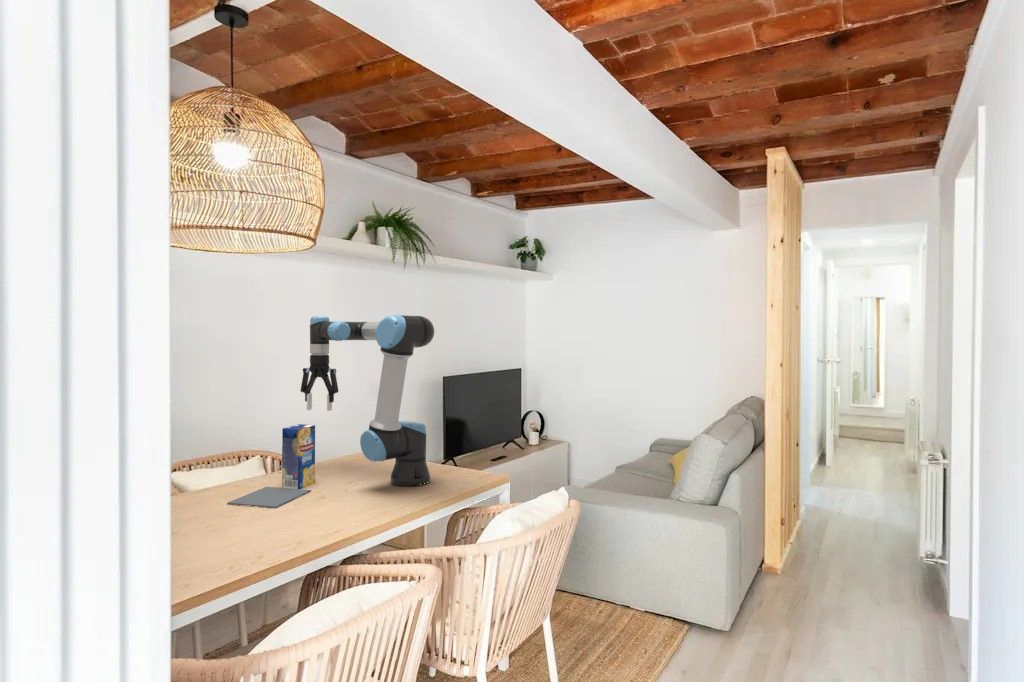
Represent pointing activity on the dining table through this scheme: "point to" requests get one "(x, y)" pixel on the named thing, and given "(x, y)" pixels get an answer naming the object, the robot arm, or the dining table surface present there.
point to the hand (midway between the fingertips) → (319, 410)
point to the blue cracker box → (298, 456)
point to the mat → (270, 497)
